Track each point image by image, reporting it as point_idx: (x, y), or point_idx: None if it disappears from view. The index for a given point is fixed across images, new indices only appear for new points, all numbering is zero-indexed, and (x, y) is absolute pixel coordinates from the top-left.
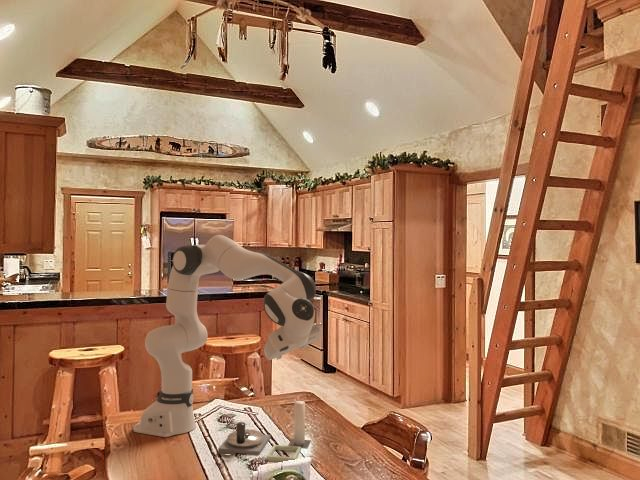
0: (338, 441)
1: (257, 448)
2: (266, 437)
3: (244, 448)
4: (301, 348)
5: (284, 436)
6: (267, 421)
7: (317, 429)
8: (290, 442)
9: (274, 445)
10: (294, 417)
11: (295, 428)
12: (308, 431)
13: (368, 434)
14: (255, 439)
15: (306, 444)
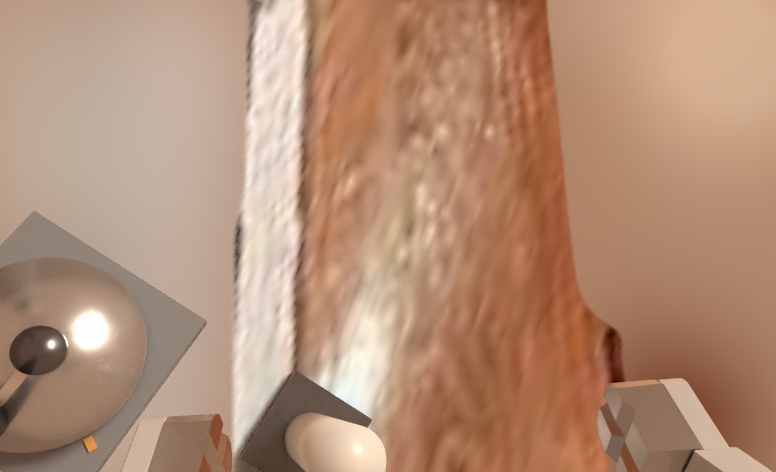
0: (481, 434)
1: (73, 467)
2: (175, 341)
3: None
4: (608, 444)
5: (288, 293)
6: (279, 103)
7: (446, 277)
8: (275, 410)
9: None
10: (302, 446)
11: (295, 456)
12: (404, 282)
13: None
14: (76, 416)
15: None
